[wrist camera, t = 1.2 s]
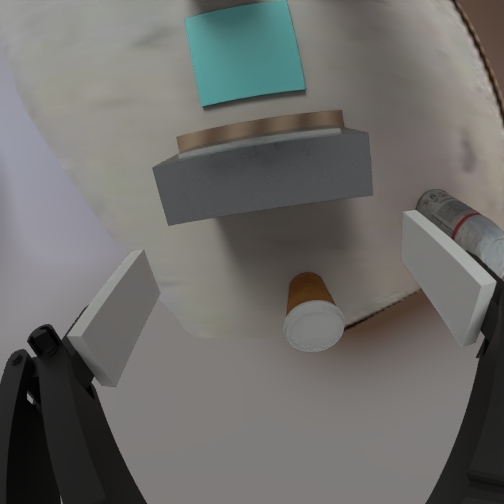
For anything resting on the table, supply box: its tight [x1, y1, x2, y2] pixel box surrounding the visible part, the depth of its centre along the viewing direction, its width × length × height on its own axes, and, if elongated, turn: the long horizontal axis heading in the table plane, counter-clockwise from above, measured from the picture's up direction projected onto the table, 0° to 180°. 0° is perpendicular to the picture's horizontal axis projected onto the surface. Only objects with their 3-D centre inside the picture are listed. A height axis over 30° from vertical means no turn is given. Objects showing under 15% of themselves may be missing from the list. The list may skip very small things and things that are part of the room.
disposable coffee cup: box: [283, 273, 345, 352], centre depth 46 cm, size 10×10×12 cm
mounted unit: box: [152, 110, 373, 226], centre depth 33 cm, size 24×10×18 cm, turn 100°
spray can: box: [416, 190, 504, 278], centre depth 34 cm, size 8×8×20 cm
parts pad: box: [184, 0, 306, 107], centre depth 33 cm, size 15×15×1 cm
